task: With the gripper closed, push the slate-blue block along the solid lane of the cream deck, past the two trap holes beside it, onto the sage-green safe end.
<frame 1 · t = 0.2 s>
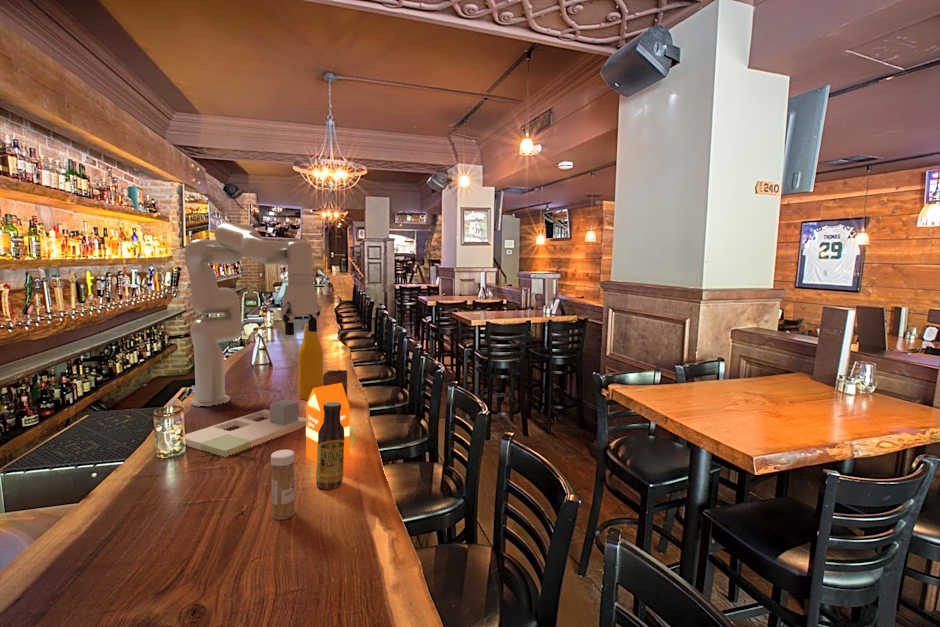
hand: (301, 333, 150), 30 cm above the table, tool pointing down, fingers open, 9 cm apart
beer bottle: (310, 397, 182), on the table
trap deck: (247, 433, 142), on the table
block: (284, 421, 148), point 2 cm above the table, touching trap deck
orange juice: (327, 457, 127), on the table
sauce bottle: (330, 485, 111), on the table
brown piece: (335, 434, 144), on the table
sprinkles bottle: (283, 515, 97), on the table
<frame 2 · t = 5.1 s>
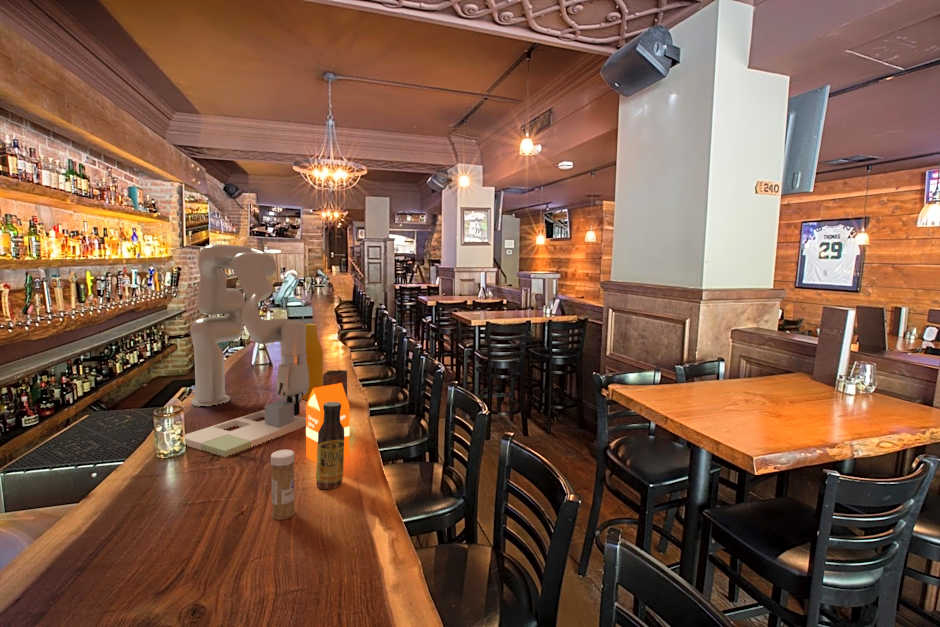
hand: (294, 414, 152), 3 cm above the table, tool pointing down, fingers closed
block: (279, 422, 146), point 2 cm above the table, touching gripper, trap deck
everything else where it was.
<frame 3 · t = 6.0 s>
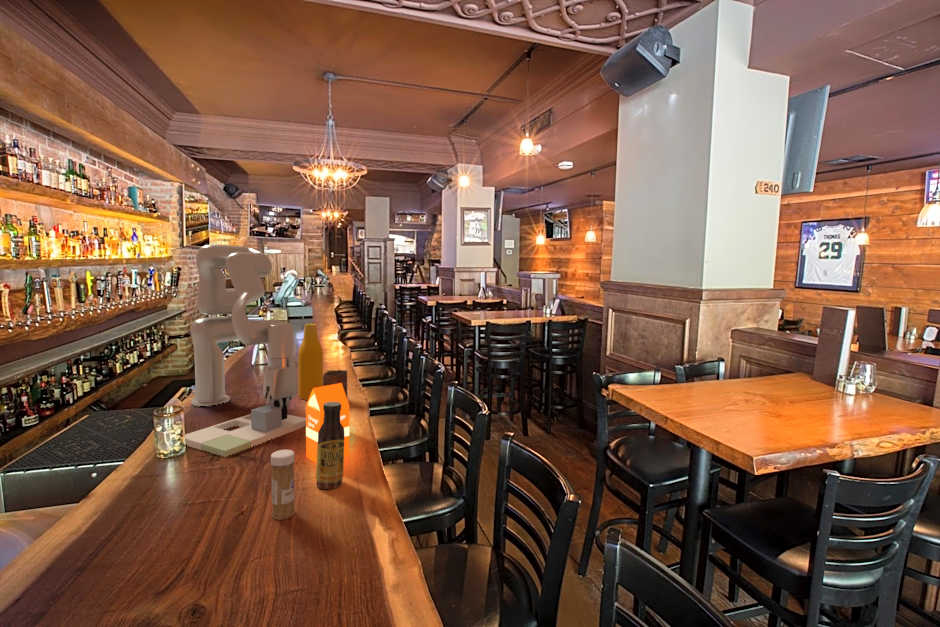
hand: (281, 418, 147), 3 cm above the table, tool pointing down, fingers closed
block: (266, 427, 142), point 2 cm above the table, touching gripper, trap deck
everything else where it was.
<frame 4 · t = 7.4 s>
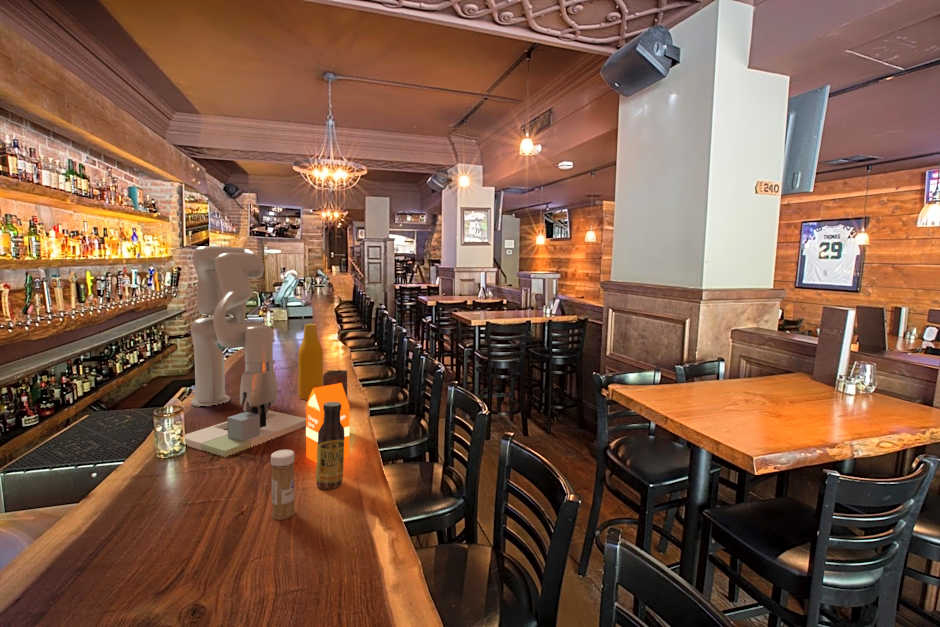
hand: (260, 426, 140), 3 cm above the table, tool pointing down, fingers closed
block: (244, 436, 134), point 2 cm above the table, touching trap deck
everything else where it was.
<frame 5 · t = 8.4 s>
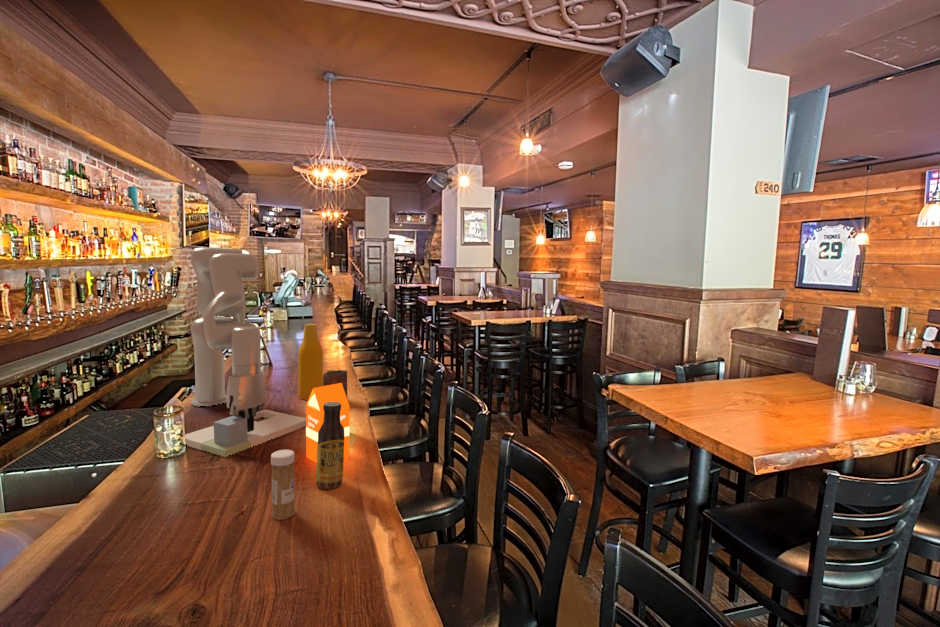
hand: (247, 430, 136), 3 cm above the table, tool pointing down, fingers closed
block: (231, 441, 131), point 2 cm above the table, touching gripper
everything else where it was.
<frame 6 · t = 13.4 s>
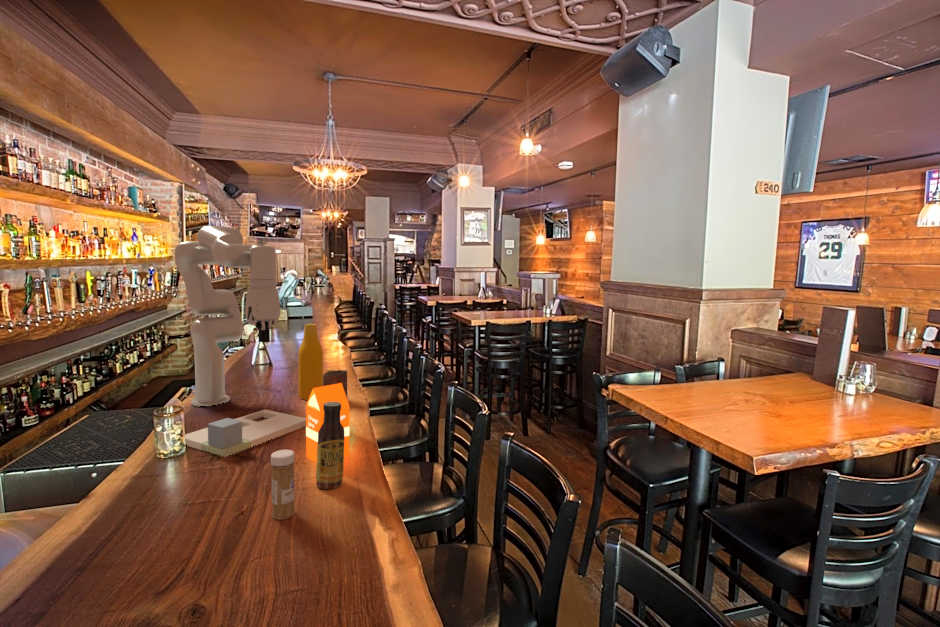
hand: (264, 341, 149), 27 cm above the table, tool pointing down, fingers closed
block: (225, 443, 129), point 2 cm above the table, touching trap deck
everything else where it was.
at the end: block inside the target area (0.8 cm from its centre), point 1.9 cm above the table; block tilted 0°; the gripper is holding nothing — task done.
